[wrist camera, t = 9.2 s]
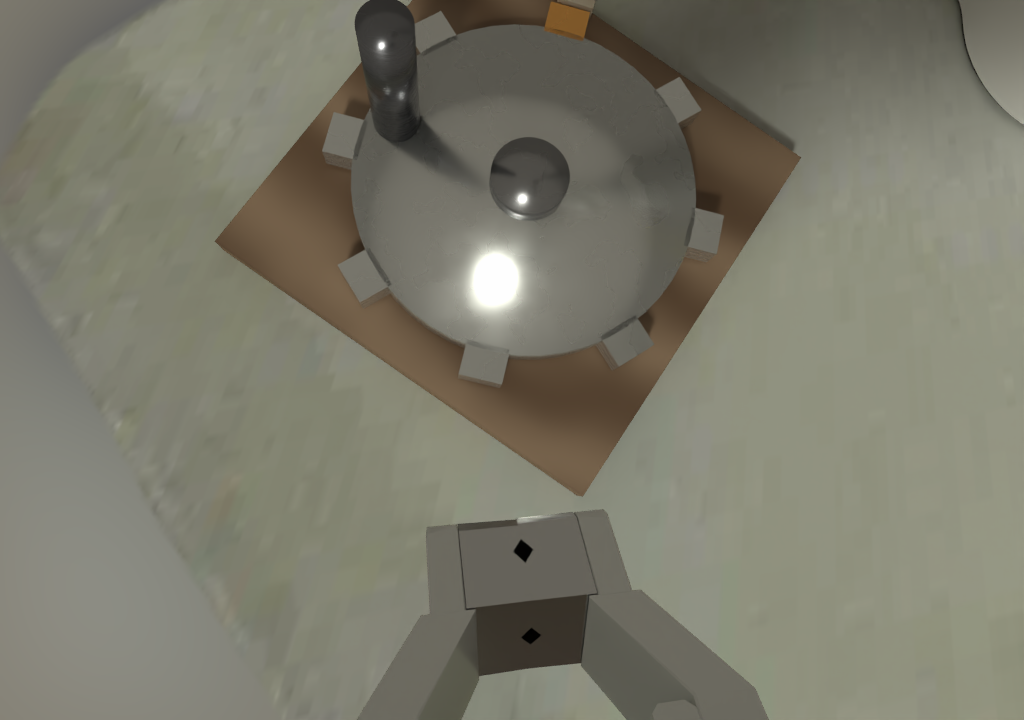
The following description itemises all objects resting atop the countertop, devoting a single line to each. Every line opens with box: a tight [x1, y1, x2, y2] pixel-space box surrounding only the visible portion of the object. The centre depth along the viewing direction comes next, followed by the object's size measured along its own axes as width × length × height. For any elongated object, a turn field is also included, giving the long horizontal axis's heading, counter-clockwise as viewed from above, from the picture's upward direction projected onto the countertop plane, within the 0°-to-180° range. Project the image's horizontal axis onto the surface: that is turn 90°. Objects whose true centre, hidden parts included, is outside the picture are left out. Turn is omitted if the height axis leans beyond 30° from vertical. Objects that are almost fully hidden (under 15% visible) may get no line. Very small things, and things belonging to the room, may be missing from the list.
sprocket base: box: [215, 0, 801, 496], centre depth 38 cm, size 23×23×3 cm
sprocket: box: [322, 0, 724, 388], centre depth 34 cm, size 20×20×10 cm
